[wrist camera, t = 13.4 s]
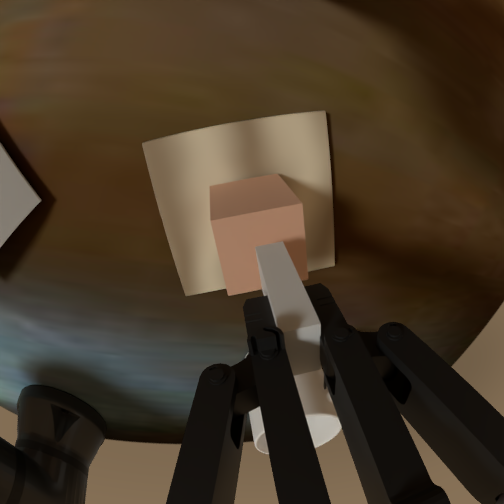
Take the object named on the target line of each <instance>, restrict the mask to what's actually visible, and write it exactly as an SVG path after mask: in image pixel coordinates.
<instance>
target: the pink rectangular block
mask: <svg viewBox="0 0 504 504" xmlns="http://www.w3.org/2000/svg"><path fill="white" fill-rule="evenodd" d="M210 221H211V226H212V230H213V234H214V239H215V243H216V247H217V251H218V256H219V260H220V264H221V268H222V272H223V277H224V281H225V285H226V289H227V293H228V296H230V295H235V294H240V293H245V292H250V291H255V290H260V289H262V286H261V280H260V274H259V268H258V262H257V256H256V250H255V247H256V246H261V245H266V244H271V243H276V242H281V241H283V243H284V245H285V247H286V249H287V251H288V254H289V256H290V258H291V260H292V262H293V264H294V266H295V268H296V271H297V273H298V275H299V277H300V279H301V281H302V280H307V279H308V268H307V253H306V240H305V228H304V216H303V205H302V202H301V201H300V200H299V199H298V197H297V196H296V195H295V194H294V193H293V191H292V190H291V189H290V188H289V187H288V185H287V184H286V183H285V182H284V181H283V180H282V178H281V177H280V176H279V175H278V174H271V175H265V176H260V177H254V178H249V179H243V180H238V181H233V182H228V183H223V184H218V185H213V186H210Z"/></svg>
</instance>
